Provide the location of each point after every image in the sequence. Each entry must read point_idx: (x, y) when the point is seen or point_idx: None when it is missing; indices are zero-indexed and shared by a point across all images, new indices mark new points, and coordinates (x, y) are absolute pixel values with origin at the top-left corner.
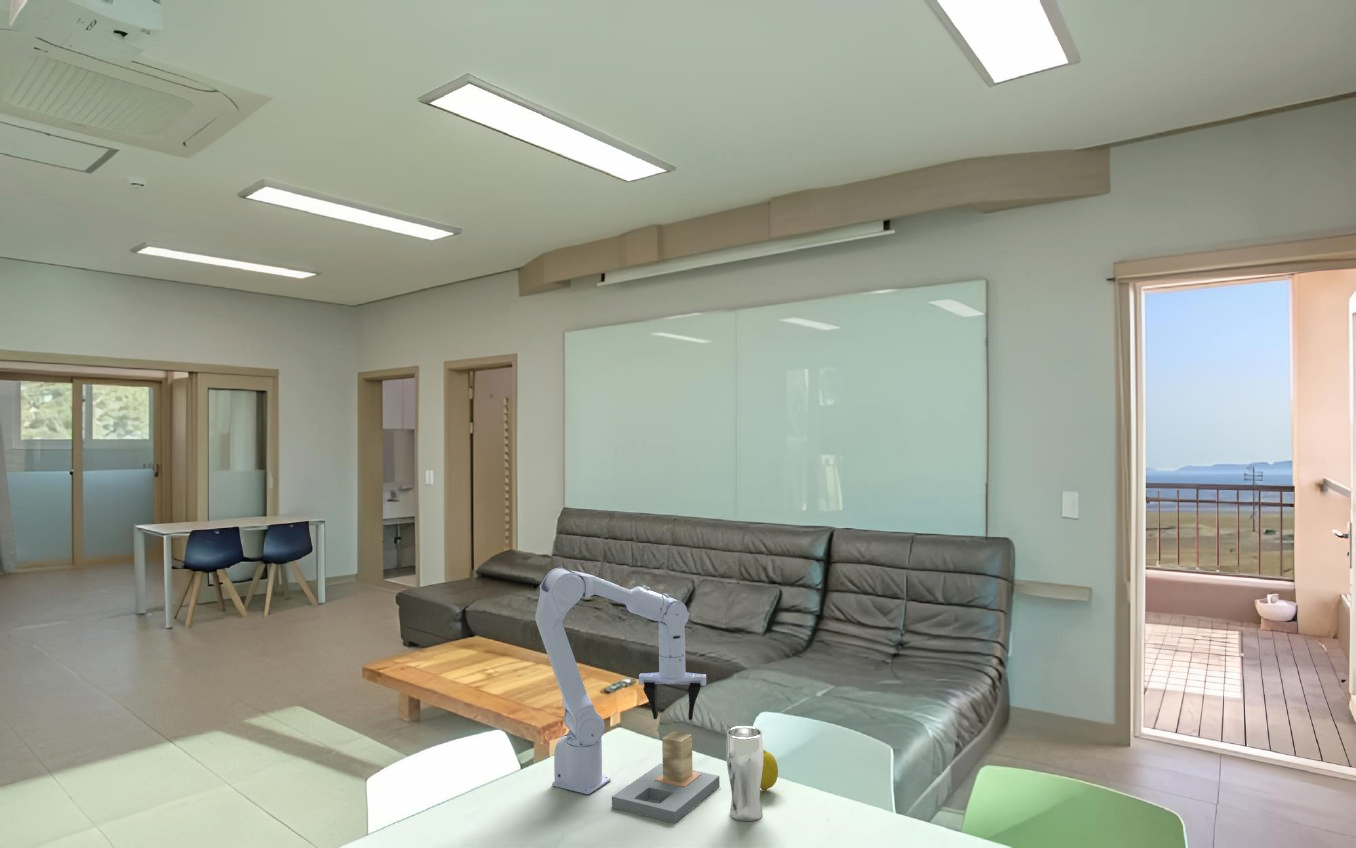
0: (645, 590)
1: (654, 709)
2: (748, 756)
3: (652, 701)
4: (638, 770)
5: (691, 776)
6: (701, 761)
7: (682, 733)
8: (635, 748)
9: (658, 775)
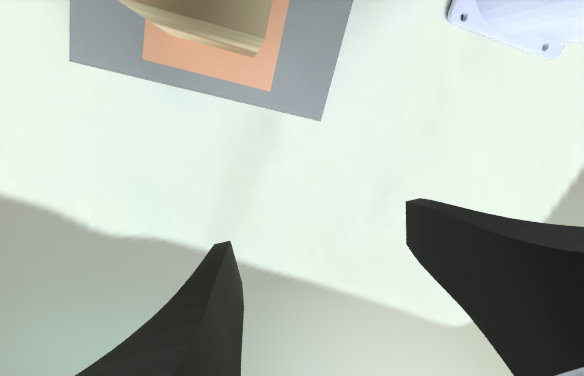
0: None
1: (452, 213)
2: None
3: (511, 227)
4: (380, 121)
5: None
6: (221, 230)
7: (186, 7)
8: None
9: (298, 9)
